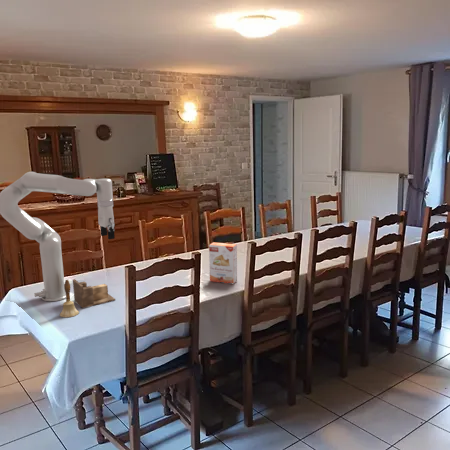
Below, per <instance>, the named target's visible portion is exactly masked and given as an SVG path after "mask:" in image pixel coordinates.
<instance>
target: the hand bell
mask: <svg viewBox="0 0 450 450" xmlns="http://www.w3.org/2000/svg"><path fill="white" fill-rule="evenodd" d="M64 289H65V292H66V298H65V301H64V302H63V303H62V304H63V305H62V310H61V312H60V313H59V317H60V318H72V317H76V316H77V315H79V314H80V312H79V310H77V308H76V305H75V303H74V302H75V301H72V300H71V295H70V293H71V283H70V280H69V279H64Z"/></svg>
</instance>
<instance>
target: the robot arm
mask: <svg viewBox="0 0 450 450" xmlns="http://www.w3.org/2000/svg"><path fill="white" fill-rule="evenodd" d="M32 192H40V193H41V192H43V193H52V194H53V193H54V194H55V193H56V194H63V195H72V196H85V197H91V196H93V195H95V194H96V197H97V217H98V219H97V221H98V225H99V228H100V236H101V237H103V236H107V240H113V239H115V237H116V236H115V217H114V209H113V207H114V197H113V194H114V193H113V182H112V179H110V178H98V179H96V178H84V179H75V178H69V177H65V176H63V175H60V174H59V175H58V174H49V173H37V172H36V171H28V172H25V173H24V174H23V175H22V176H21V177H19V178H18V179H16V180H14V182H12V183H10V184H9V185H7V186H6V187H5V188H4V189H2V191H0V215H1V216H2V218H3V219H4V220H6V222H8V223H9V225H11V226H13V228H15V229H16V230H17V231H19V232H20V234H22V236H24V237H25V238H26V239H28V240H33V241H34V240H35V241H36V242H37V243H38V244H39V253H40V261H41V268H42V269H41V271H42V279H43V280H42V281H43V289H42V290H41V291H38V292H34V297H35V298H36V297H38V298H41V300H42V301H44V302H58V301H61V300H66V292H65V289H64V284H65V276H64V264H63V256H62V255H63V254H62V240H61V239H62V238H61V236H60V235H59V233H58V232H57V231H55V230H54V229H53V228H51V227H50V226H49V225H48V223H46V222H45V221H44V220H42V219H40V218H38V217H34V216H33V217H32V216H31V215H29V214H28V213H27V212H26V211H25V210H24V209H22V208H21V207H20V206H19V205H18V204H19V202H20V201H21V200H23V199H24V198H26V196H28V195H29V194H31V193H32Z"/></svg>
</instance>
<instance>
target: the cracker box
mask: <svg viewBox="0 0 450 450" xmlns="http://www.w3.org/2000/svg"><path fill="white" fill-rule="evenodd" d="M237 245H238V244H237V243H236V244H235V243H225V242H214V241H213V242H211V243H210V244H209V245H208V248H209V249H208V250H209V251H208V252H209V254H208V256H209V257H208V258H209V259H208V261H209V282H214V283H220V282H224V283H223V284H228V283H234V284H235V283H236V282H237V281H238V249H237V248H238V246H237Z"/></svg>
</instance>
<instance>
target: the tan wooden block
mask: <svg viewBox="0 0 450 450" xmlns="http://www.w3.org/2000/svg"><path fill="white" fill-rule="evenodd" d="M91 287H93V298H94V300H99V299H103V298H107V297H108V294H109V287H108V285H107V284H106V283H104V284H103V283H102V284H97V285H91Z"/></svg>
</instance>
